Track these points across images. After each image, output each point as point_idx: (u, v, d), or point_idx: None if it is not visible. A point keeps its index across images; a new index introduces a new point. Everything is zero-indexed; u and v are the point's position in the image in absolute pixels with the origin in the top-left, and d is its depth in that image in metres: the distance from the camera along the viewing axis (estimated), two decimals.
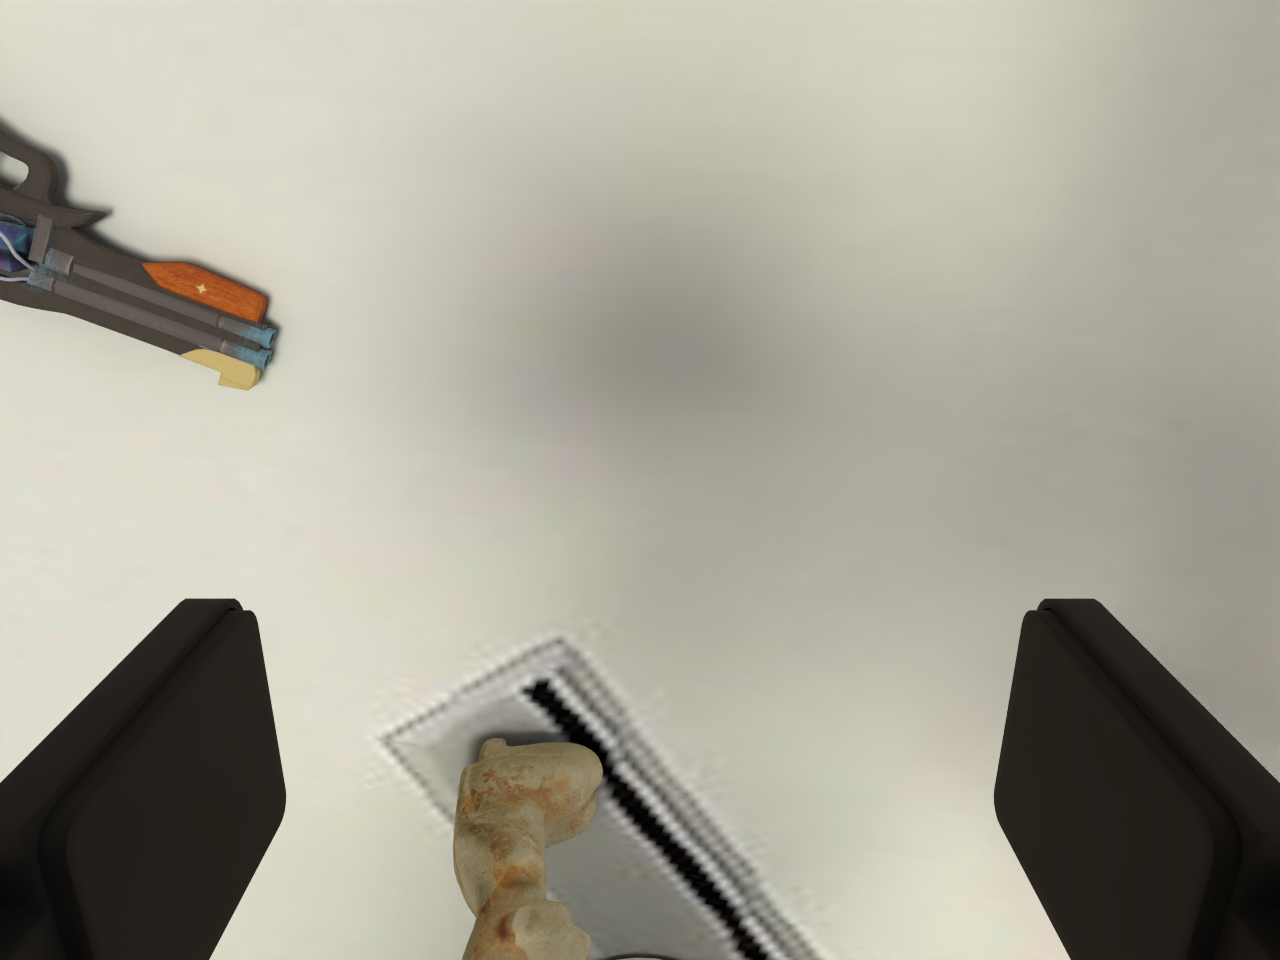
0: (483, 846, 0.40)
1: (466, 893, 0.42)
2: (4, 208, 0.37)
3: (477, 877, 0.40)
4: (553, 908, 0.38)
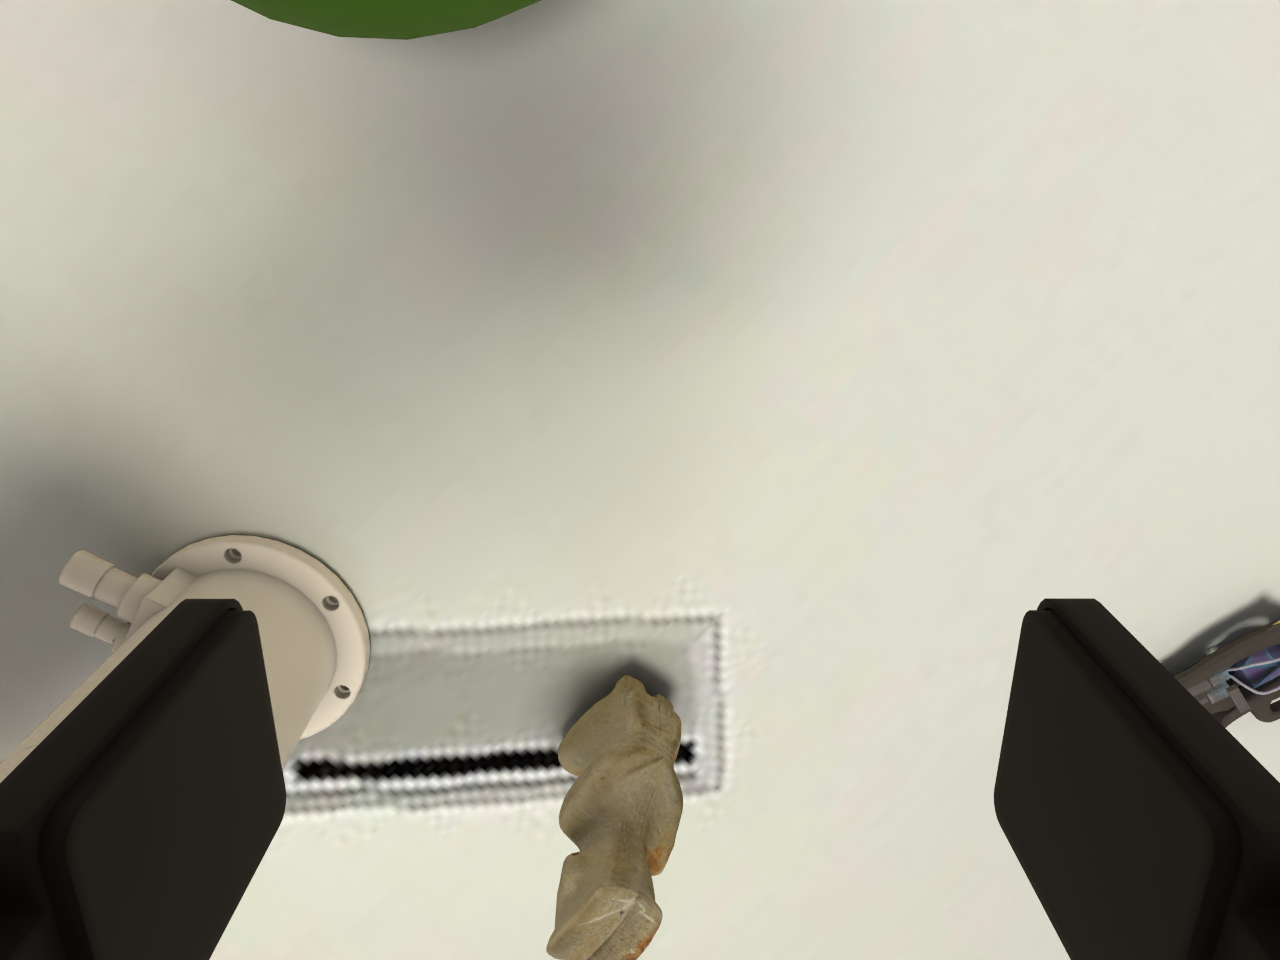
0: (675, 831, 0.44)
1: (627, 777, 0.43)
2: None
3: (652, 816, 0.43)
4: None
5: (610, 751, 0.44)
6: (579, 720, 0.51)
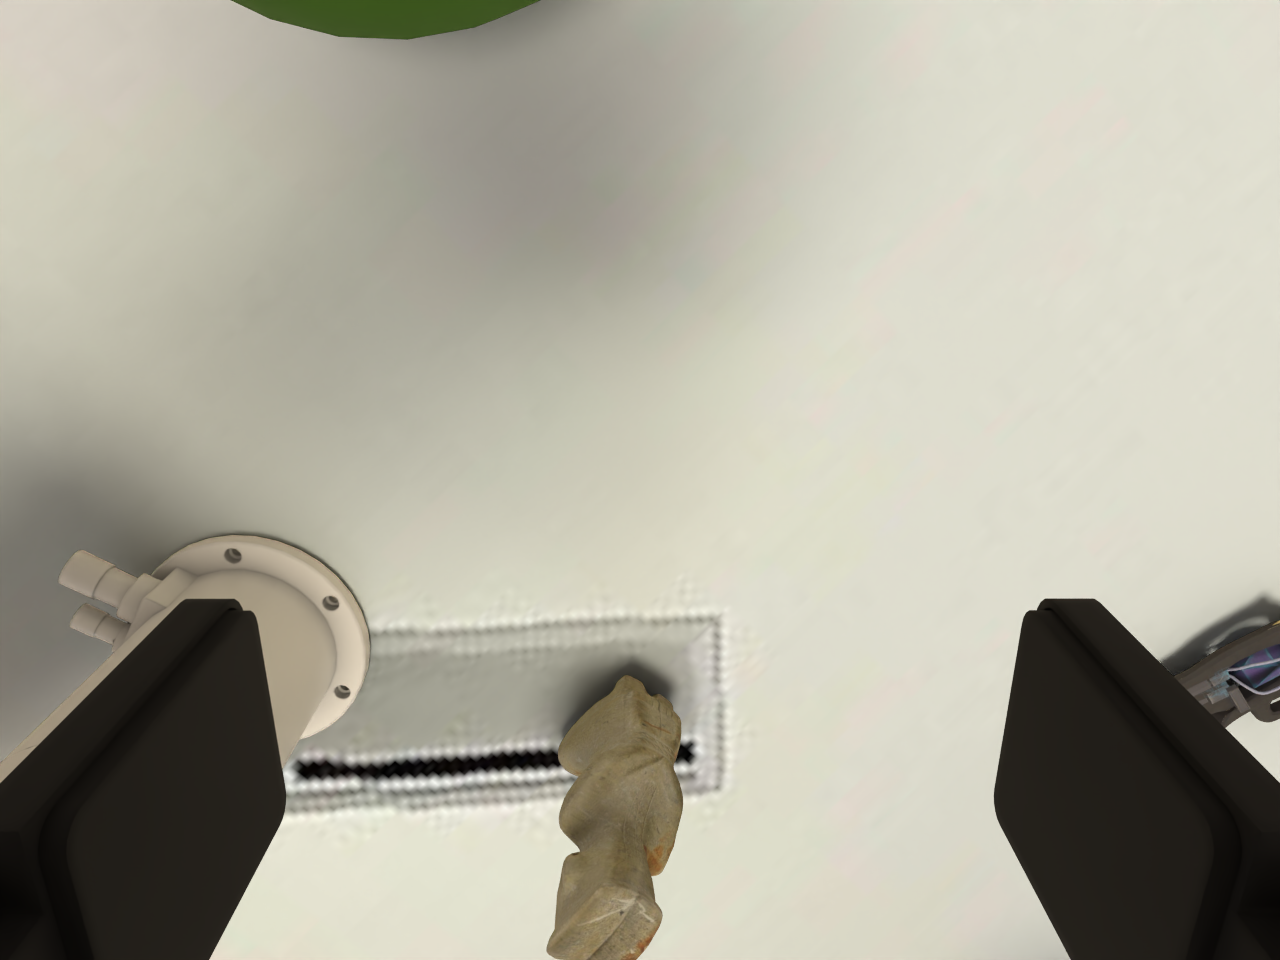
0: (675, 831, 0.44)
1: (627, 777, 0.43)
2: None
3: (652, 816, 0.43)
4: None
5: (610, 751, 0.44)
6: (579, 720, 0.51)
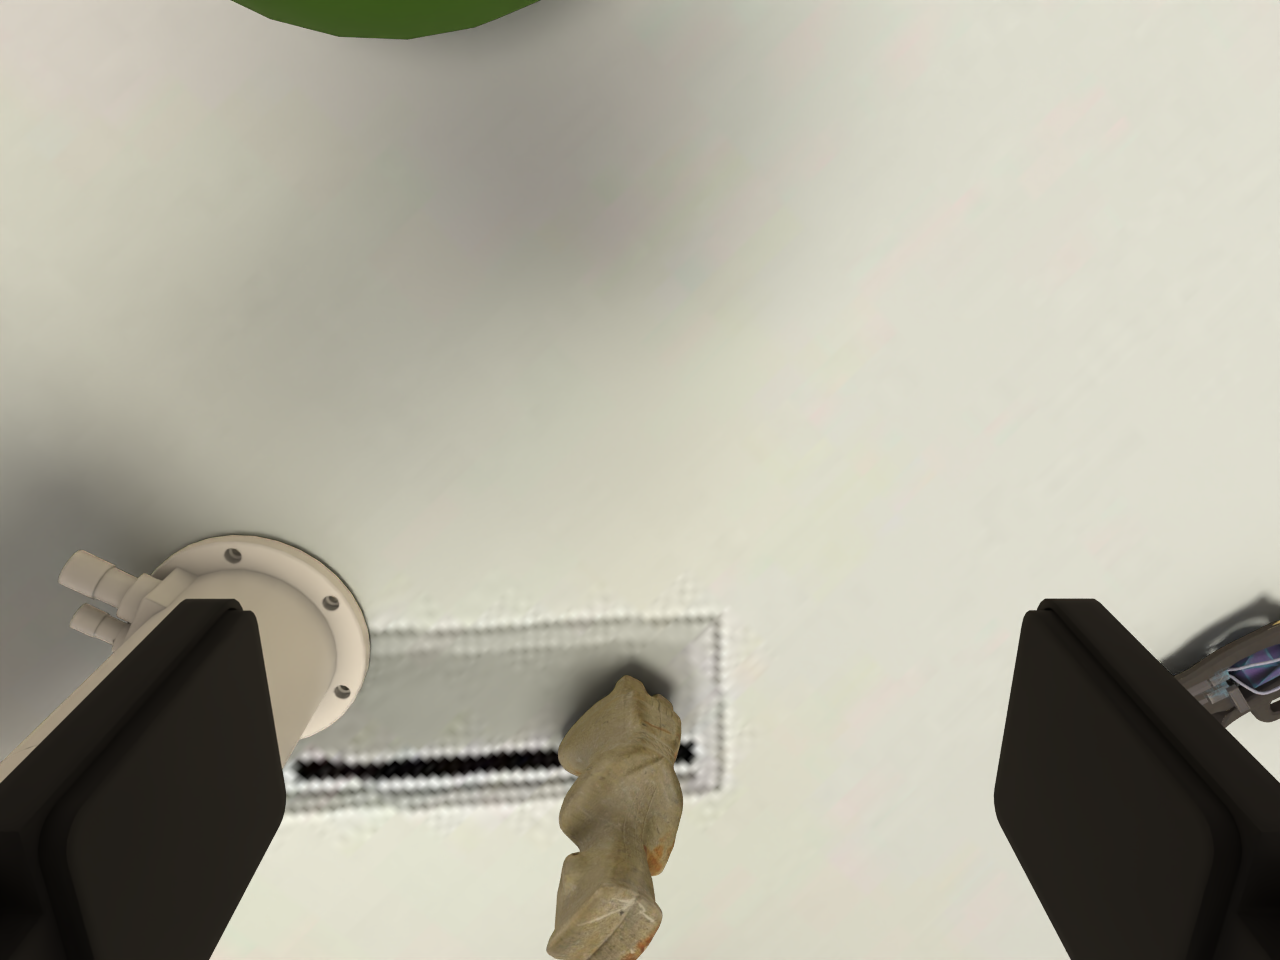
0: (675, 831, 0.44)
1: (627, 777, 0.43)
2: None
3: (652, 816, 0.43)
4: None
5: (610, 751, 0.44)
6: (579, 720, 0.51)
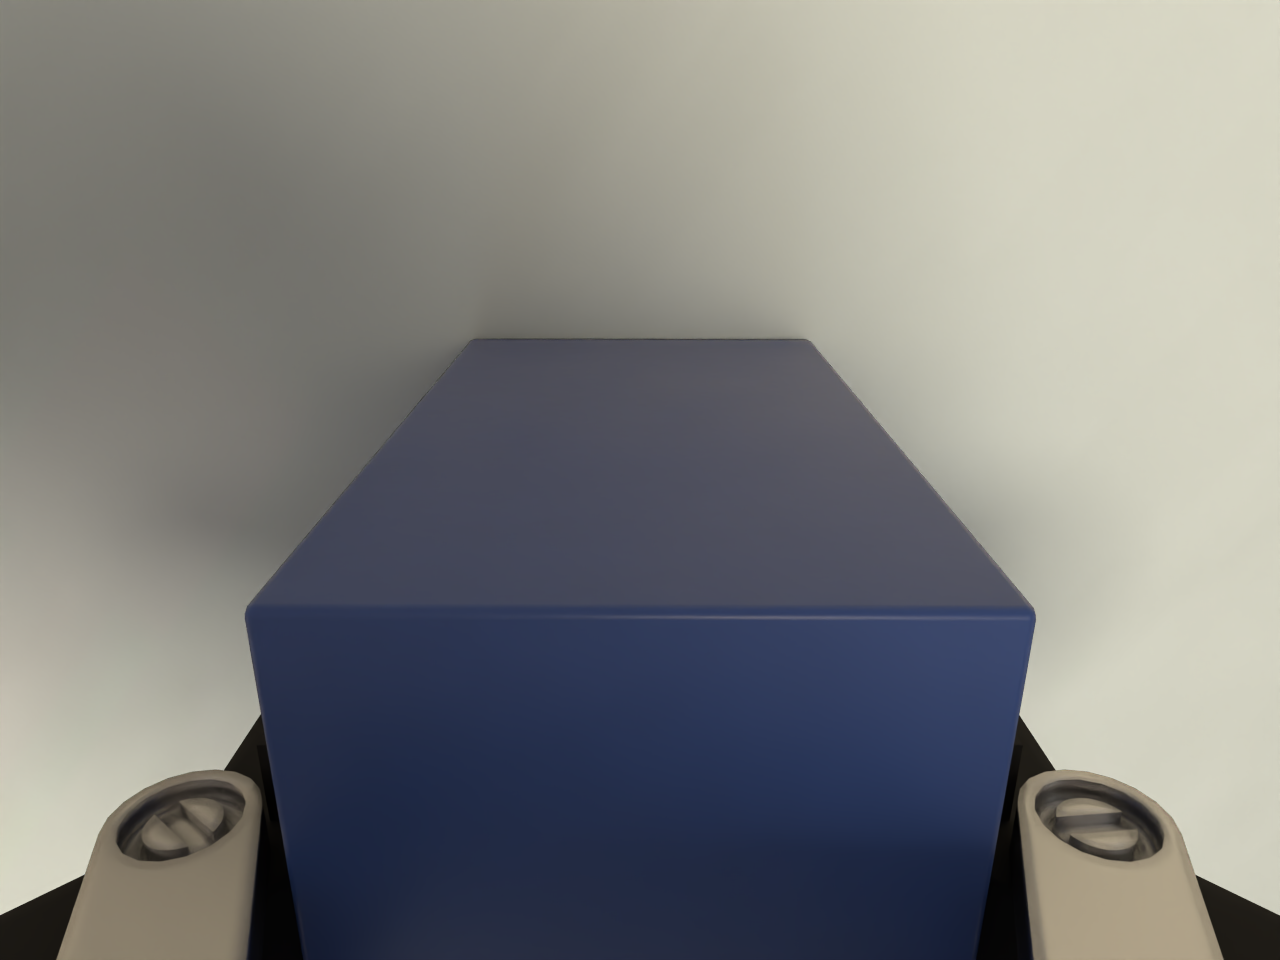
0: None
1: None
2: None
3: None
4: None
5: None
6: None
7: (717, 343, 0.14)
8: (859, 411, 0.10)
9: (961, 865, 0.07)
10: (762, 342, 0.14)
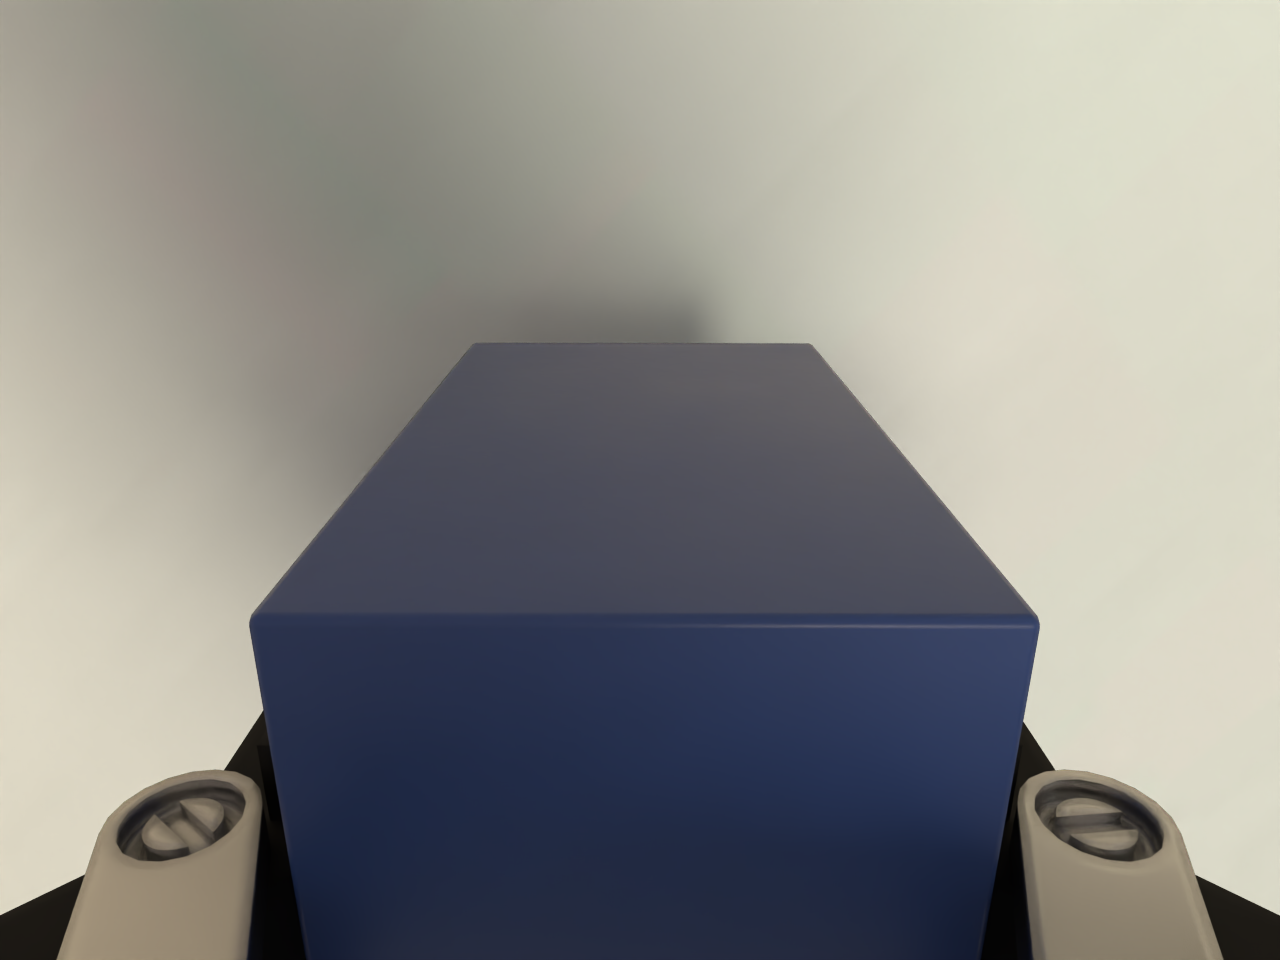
0: None
1: None
2: None
3: None
4: None
5: None
6: None
7: (718, 347, 0.14)
8: (861, 416, 0.10)
9: (964, 871, 0.07)
10: (764, 345, 0.14)
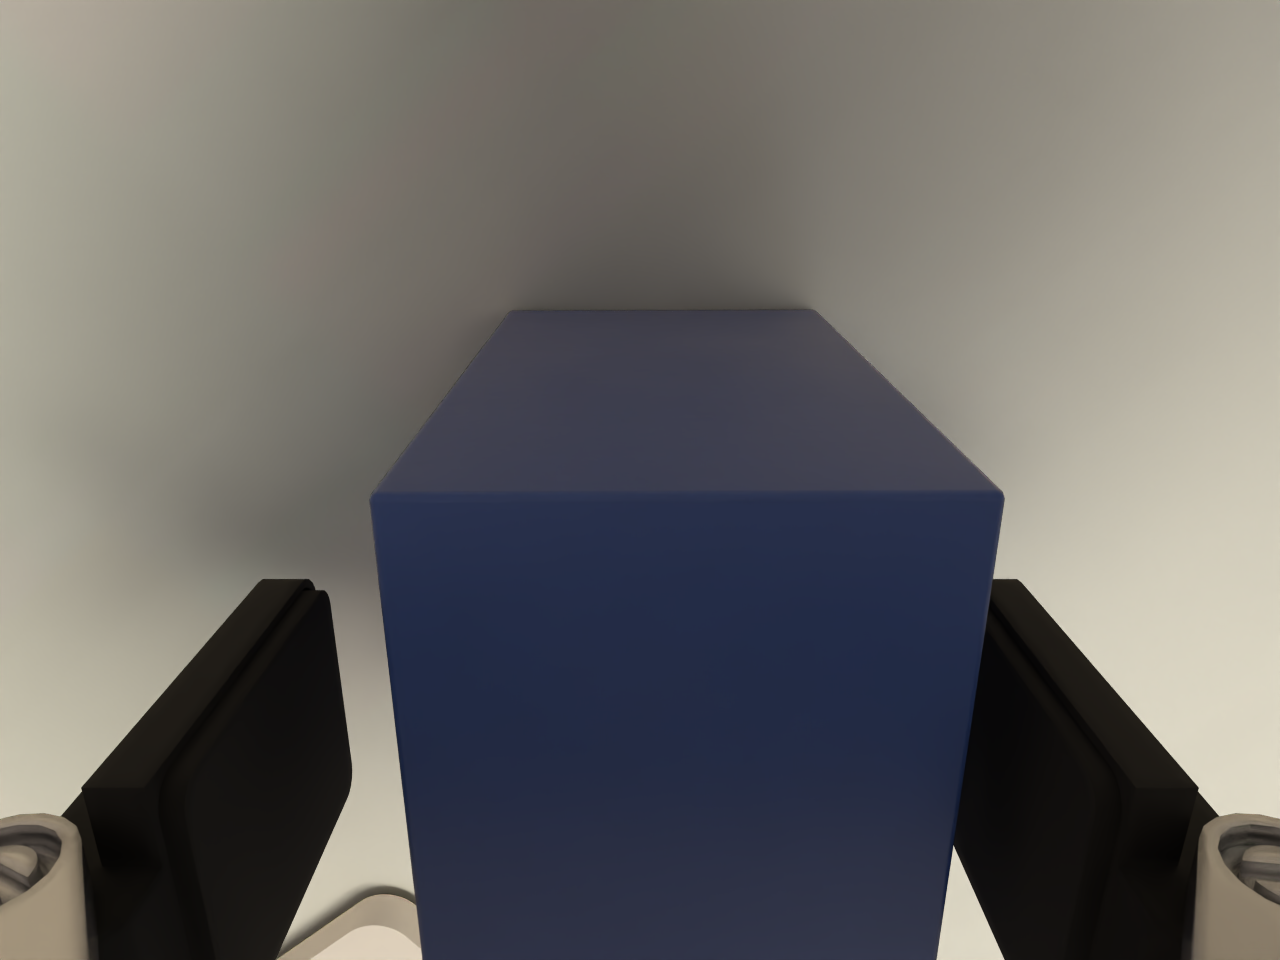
0: None
1: None
2: None
3: None
4: None
5: None
6: None
7: (732, 312, 0.15)
8: (861, 362, 0.12)
9: (947, 711, 0.08)
10: (773, 311, 0.15)
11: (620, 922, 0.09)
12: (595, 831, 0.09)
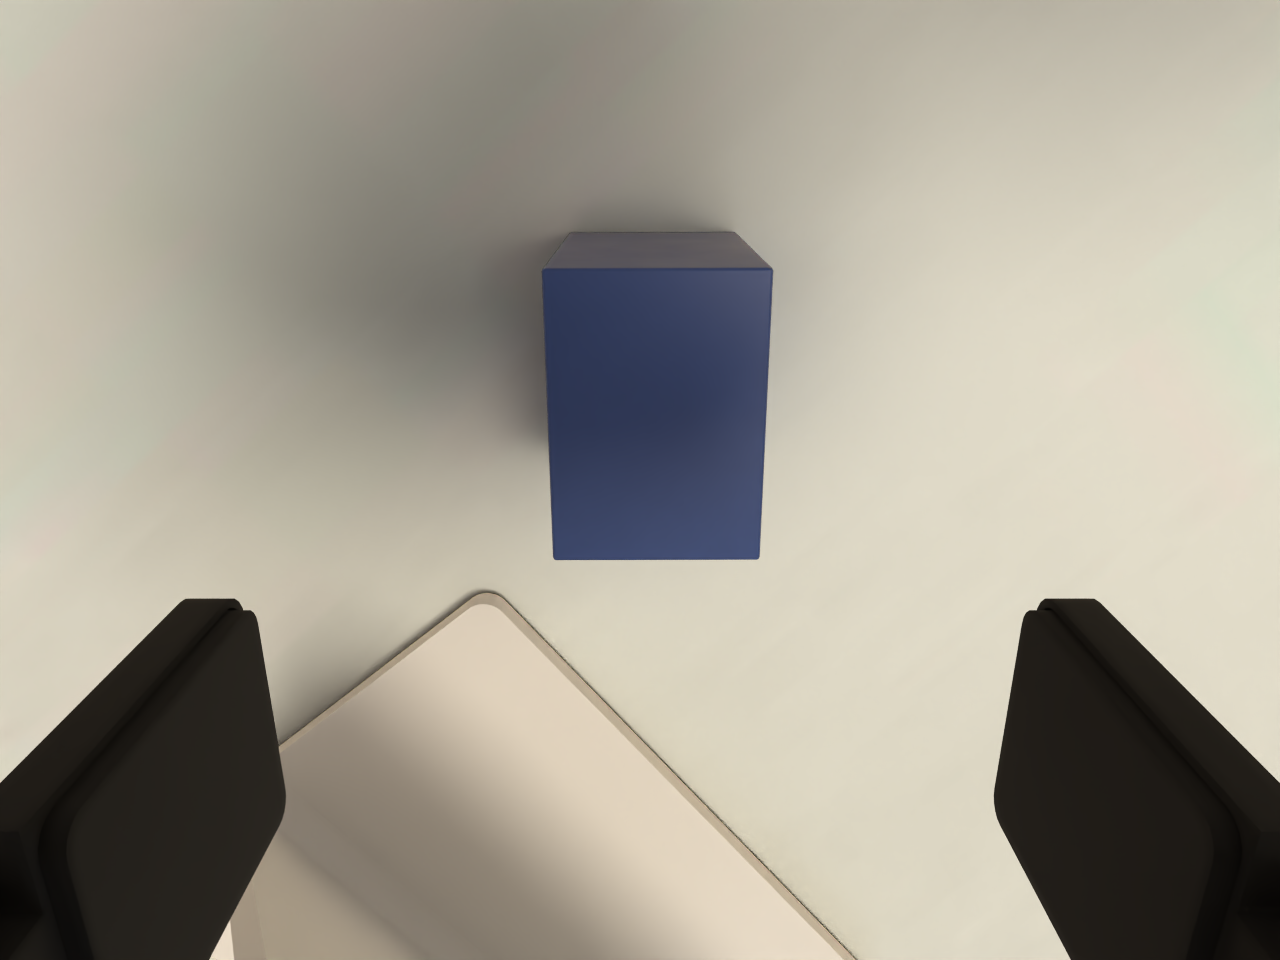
0: None
1: None
2: None
3: None
4: None
5: None
6: None
7: (689, 232, 0.28)
8: (744, 245, 0.25)
9: (758, 359, 0.21)
10: (711, 232, 0.28)
11: (632, 458, 0.22)
12: (622, 414, 0.22)
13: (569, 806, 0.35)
